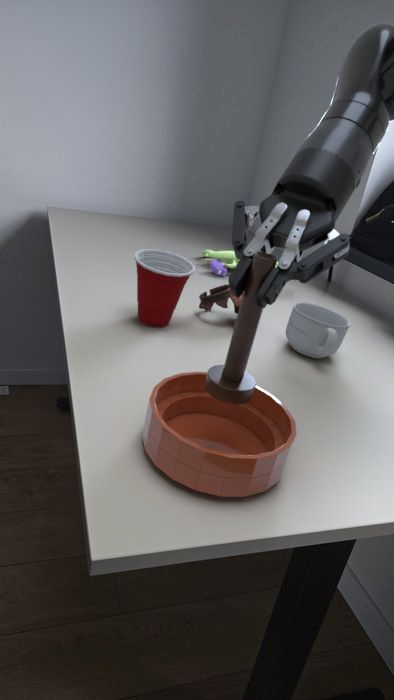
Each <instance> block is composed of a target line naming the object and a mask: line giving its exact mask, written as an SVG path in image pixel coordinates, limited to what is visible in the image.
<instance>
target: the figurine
mask: <svg viewBox="0 0 394 700" xmlns="http://www.w3.org/2000/svg"><path fill="white" fill-rule="evenodd" d="M201 255H202V256H203V257H205V258H211V259H213V260H212V261H210V263H209V270H210V271H211V272H213V273H214V274H215V275H216V276H222V277H226V276H227V273H228V269H235V267H236V265H237V263H238V262H239V261H240V259H237V258H236V256H235V253H234V250H219V251H214V250H212V249H203V250H202V251H201ZM278 262H279V261H277V263H276V266H275V268H277V266H278Z"/></svg>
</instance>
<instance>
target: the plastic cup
mask: <svg viewBox="0 0 394 700" xmlns="http://www.w3.org/2000/svg"><path fill="white" fill-rule="evenodd" d="M133 257H134V260H135V265H136V274H137V275H136V276H137V277H136V281H137V282H136V291H137V292H136V294H137V295H136V299H137V300H136V302H137V316H138V321H139V322H140V323H141V324H143V325H146V326H148V327H153V328H165V327H167V326H168V325H169V323H170V322H171V319H172V318H173V314H174V312H175V310H176V309H177V305H178V304H179V300H180V298H181V296H182V293H183V291H184V289H185V286H186V284H187V282H188V280H189V279H190V277H191V275H192V274H194V272H195V271H196V270H195V269H196V266H195V265H194V263H193V262H192V261H190V260H189V259H188V258H185V257H184V256H182V255H179V254H176V253H174V252H171V251H167V250H163V249H154V248H145V249H143V248H142V249H139V250H137V251H136V252H135V254H134V256H133Z"/></svg>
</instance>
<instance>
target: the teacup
mask: <svg viewBox="0 0 394 700" xmlns="http://www.w3.org/2000/svg"><path fill="white" fill-rule="evenodd" d="M349 328H351V321H350V320H349V319H348V318H347V317H346V316H344V315H343V314H341V313H339V312H337V311H335V310H333V309H330V308H329V307H326V306H322V305H319V304H316V303H312V302H307V301H305V302H304V301H298V302H295V303H294V304H293V305H292V310H291V312H290V316H289V318H288V321H287V324H286V328H285V337H286V340H287V341H288V342H289V345H290V347H291V348H292V349H293V350H294V351H296V352H297V353H299V354H300V355H302V356H306V357H308V358H313V359H324V358H326V357H331V356H332V355H334V354H336V353H337V352H338V350H339V349H340V347H341V345H342V343H343V341H344V340H345V336H346V334H347V332H348V330H349Z"/></svg>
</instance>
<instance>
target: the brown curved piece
mask: <svg viewBox="0 0 394 700" xmlns="http://www.w3.org/2000/svg"><path fill="white" fill-rule="evenodd" d="M244 290H245V289H244ZM208 291H209V295H208V292H207V291H204V292H202V293H200V294H199V296H198V298H199V300H200V302H199V305H198V309H200V310H204V311H205V312H209V313H211V312H212V308H213V307H214V304H215V305H216V306H218V307H221V308H222V309H229V307H228V302H229V299H230V300H231V301H232V303H233V307H234V309H233V312H234V313H235V314H237V315H238V312H239V308H240V304H241V301H242V297H243V293H244V291H243V292H242V294H241V296H240V297H239V298H237V297H235V296H233V295H232V294H231V291H230V286H229V283H228V284H224V285H223V284H222V285H219V286H215V287H212V288H211V289H209V290H208ZM236 319H237V318H235V319H234V320H233V323H234V324H235V323H236Z"/></svg>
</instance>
